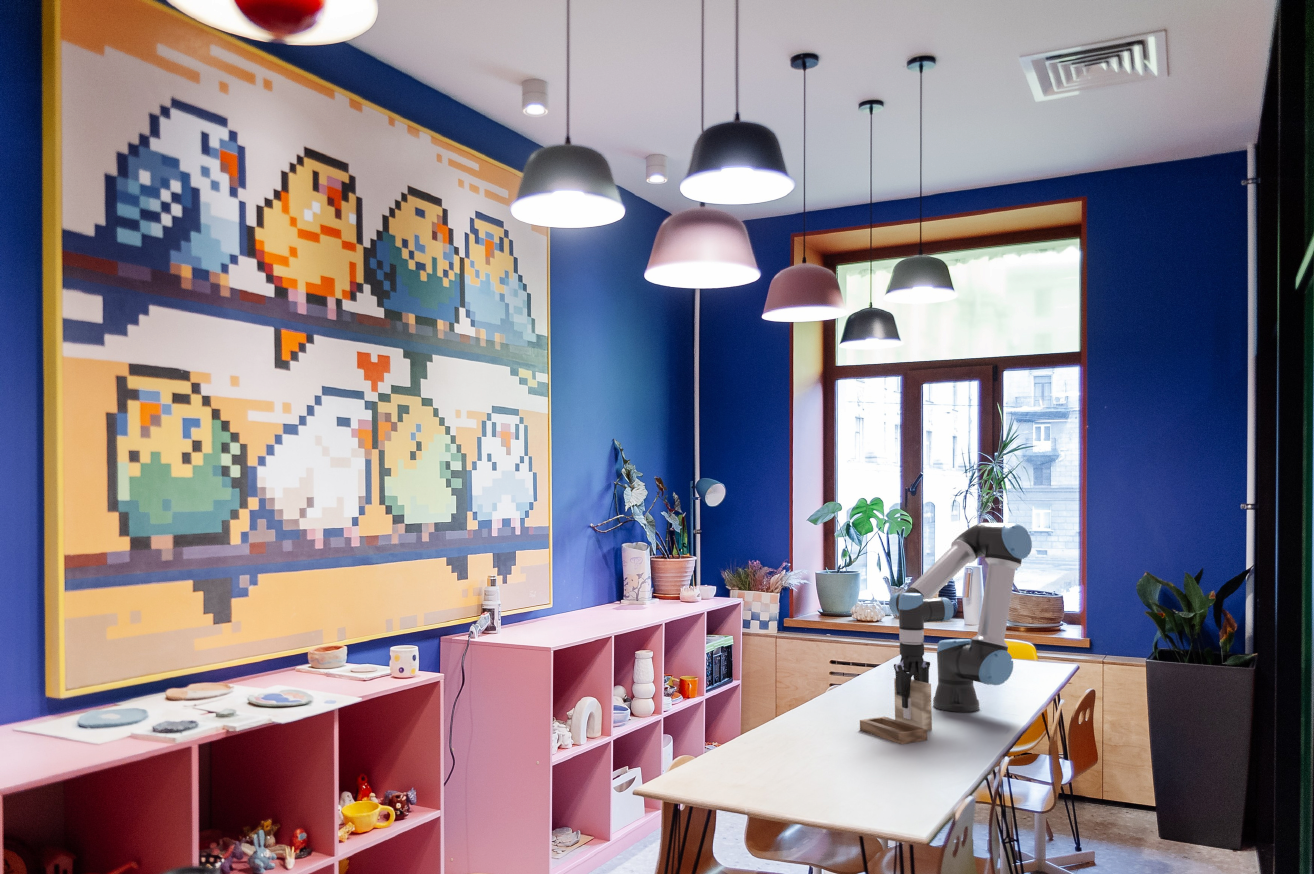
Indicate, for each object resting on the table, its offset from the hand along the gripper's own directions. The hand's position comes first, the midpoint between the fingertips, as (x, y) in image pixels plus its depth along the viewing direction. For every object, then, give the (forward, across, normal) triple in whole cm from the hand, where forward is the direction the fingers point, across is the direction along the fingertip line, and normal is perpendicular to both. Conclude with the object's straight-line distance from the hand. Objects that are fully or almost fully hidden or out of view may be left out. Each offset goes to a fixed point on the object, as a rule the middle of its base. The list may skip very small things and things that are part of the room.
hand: (913, 717), depth 288 cm
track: (+3, +13, +5) cm, 14 cm away
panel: (+3, 0, 0) cm, 3 cm away
